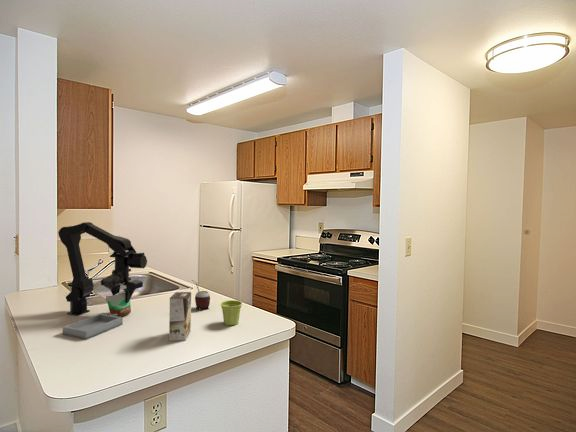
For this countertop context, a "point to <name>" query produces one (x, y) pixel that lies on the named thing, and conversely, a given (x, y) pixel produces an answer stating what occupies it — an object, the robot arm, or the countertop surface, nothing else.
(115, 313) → the food container
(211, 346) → the countertop surface
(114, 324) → the tray
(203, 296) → the mate gourd
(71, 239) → the robot arm
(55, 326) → the countertop surface
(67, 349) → the countertop surface
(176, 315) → the coffee box
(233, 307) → the plant pot
